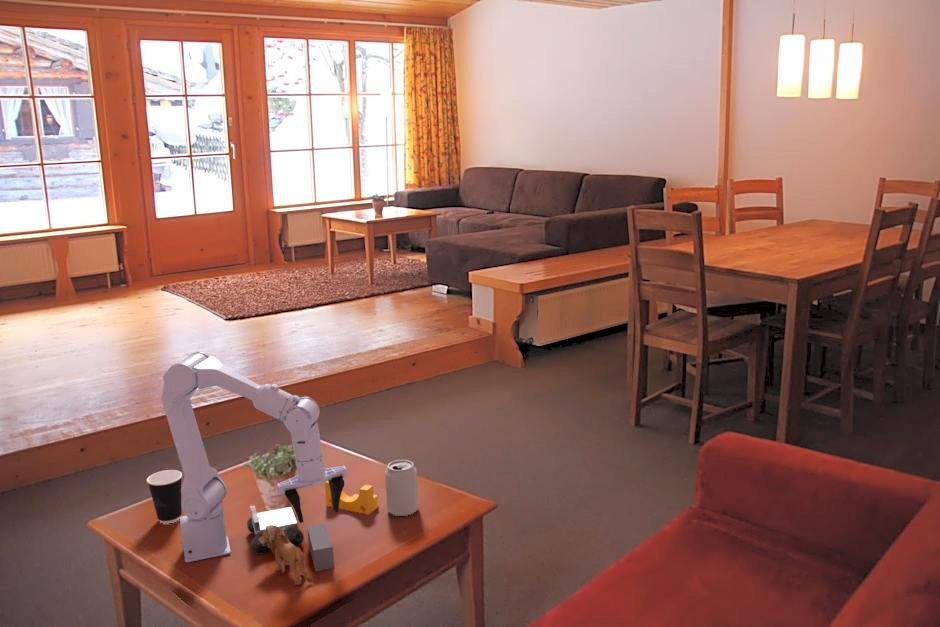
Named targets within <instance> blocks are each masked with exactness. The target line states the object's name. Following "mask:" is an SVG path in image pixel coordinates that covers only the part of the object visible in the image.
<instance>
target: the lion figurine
mask: <svg viewBox="0 0 940 627" xmlns="http://www.w3.org/2000/svg"><path fill="white" fill-rule="evenodd" d="M259 541H260V542H261V543H262V545H263V546H265V545H268V548H270V550H271V553H272V554H274V559H275V562H276V564H277V566H275V568H274V569H275V570H274V571H277V572H279V571H282V569H283V563H282V560H281V559H282V558H283V559H284V560H285V561H284V565H285V566H289V569H290V571H291V573H292V575H293V576H294V578H295V581H294V585H295V586H299V585H301V583H302V581H301V578H300V575H301V576H302V577H303V578H304V579H305V580H306V581H307V582H308V583H311V584H312V583H313V582H314V580H312V579H311V578H309V577H308V576H307V575H306V574H307V571H306V568H305V556H304V553H303V551H302V550H301V548H300V547H299V546H297V547H296V546H294V545H293V544H292V543H291V542H290V541H289V538H288V536H287V535H286V531H285V532H283V530H281V529H280V528H279V527H277V526H274V525H269V526H266V531H265V532H264V533H263V536H262V537H260V538H259ZM297 562H298V565H299V566H298V567H299V570H300V575H299V573H298V572H297Z"/></svg>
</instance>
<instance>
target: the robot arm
mask: <svg viewBox="0 0 940 627" xmlns="http://www.w3.org/2000/svg"><path fill="white" fill-rule="evenodd" d="M162 380H163V388H162V392H161V402H162V406H163V410H164V412H165V415H166V419H167V422H168V426H169V429H170V433H171V436H172V439H173V443H174V446H175V449H176V453H177V456H178V458H179V462H180V466H181V469H182V474H183V475H184V476H183V480H182V482H181V507H182V512H183V513H184V515H182V516H181V517H180V520H179V523H180V524H179V526H180V532H181V539H182V541H181V542H180V544H181V550H182V551H183V555H184V562H185V563H191V562H197V561H202V560H205V559H211V558H216V557H222V556H226V555H231V553H232V551H231V546H230V542H229V537H228V535H227V530H226V528H227V527H226V523H225V522H226V519H225V512H224V506H223V505H224V504H223V500H224V499H225V498H226V495H227V492H228V491H227V490H228V489H227V486H226V483H225V482H224V481H223V479H221V477H220V475H219V472H218V470H217V469H215V467H212V466H210V463H209V460H208V456H207V452H206V448H205V446H204V442H203V439H202V435H201V433H200V429H199V426H198V422H197V419H196V416H195V412H194V409H193V405H192V401H191V398H192V397H193V396H194V394H195V392H196V391H197V389H198V390H204V389H208V388H213V387H219V388H222V389H224V390H227V391H228V392H232V393H233V394H235V395H239V396H241V397H243V398H246V399H248V400H250V401H252V404H253V406H254V408H255V409H256V410H258V411H260V412H262V413H264V414H266V415H269V416H270V417H272V418H274V419H276V420H279V421H280V422H283V424H284V426H285V428H286V429H287V431H289V432H290V435H291V441H292V448H293V453H294V454H293V455H294V460H295V466H296V472H297V473H296V474H297V475H295V476H293V477H291V478H288V479H286V480H283V481H281V482H278V483H276V485H277V486H276V487H277V491H278V494H279V495H280V496H281V495H285V497H286V499H287V500H288V501H289V503H290V504H291V505H292V506H291V507H292V508H293V510H294V512H295V514H296V518H297V520H298V522H299V524H302V523H304V515H303V512H302V508H301V499H300V498H301V496H300V495H299V493H298V491H297V490H299V489H304V488H306V487H310V486H312V487H315V486H319V485H322V483H325V481H328V482H329V486H330V491H331V497H332V506H333V507H332V510H333V511H334V513H336V514H337V513H339V501H340V496H341V493H342V491H344V486H345V480H344V478H348V477H349V476H348V469H347V467H346V466H345V465H341V466H335V467H329V468H327V467H325V462H324V455H323V448H322V441H321V434H320V431H319V422H318V418H319V417H320V414H321V410H320V406H319V405H318V402H316V400H314V399H312V398H311V397H310V396H301V397H300V395H299V396H298V395H297V394H294V395H293V394H291V393H289V392H287V391H285V390H283V389H281V388H279V387H280V386H279V385H278V384H276V383H272V384H270V383H265V384H262V385H259V384H258V383H256V382H254V381H252V380H251V379H249V378H247V377H245V376H243V375H241V374H240V373H239V372H237V371H235V370H233V369H231V368H229V367H227V366H225V365H224V364H223V363H221V362H220V360H219V359H218V358H217V357H214V356H210V355H209V354H208V353H205V352H203V351H194V352H192V353H191V354H190V355H188V356H187V357H185V358H183V359H182V360H180V361H179V362H177V363H175V364H172V365H171V366H170V367H169V368H168V369H167V371H166V372H165V373H164V374H163V376H162Z"/></svg>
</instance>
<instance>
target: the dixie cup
mask: <svg viewBox="0 0 940 627" xmlns="http://www.w3.org/2000/svg"><path fill="white" fill-rule="evenodd" d="M182 478H183V472H182V471H180V470H176V469H166V470H160V471H157V472H154V473H152V474H150V475H149V476H148V477H147V478H146V483H147V484H148V487H149V490H150V491H149V492H150V495H151V499H152V501H153V506H154V508H155V514H156V517H157V519H158V522H159V521H160V522H159V523H160V524H161V523H163V524H162V525H170V524H169V523H173V524H175V523H174V522H176V521H177V520H179V519H180V517H182V516H181V515H182V512H183V510H182V507H181V502H182V493H181V487H182ZM179 521H180V520H179ZM176 523H177V522H176Z"/></svg>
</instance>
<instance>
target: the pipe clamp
mask: <svg viewBox="0 0 940 627" xmlns="http://www.w3.org/2000/svg"><path fill="white" fill-rule="evenodd" d="M324 490H325V499H326V500H325V501H326V507H329V506H332V497H331V491H330V486H329V482H328V481H325V482H324ZM331 508H333V506H332V507H331ZM339 508H340V510H343V509H345V510H344V511H349V510H350V512H353V511H354V513H357V512H359V513H358V514H362V513H364V514H363V515H368V516H369V515H370V514H371V513H373V512H374V511H376V510H377V509H378V508H379V497H378V495H376V494H374V486H373V485H370V484H365V485H363V486H362V487H360V488H359V494H358V493H354V494H353V495H351V496H350V495H348V494H347V493H345V491H344V490H342V493H341V496H340V501H339Z"/></svg>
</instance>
